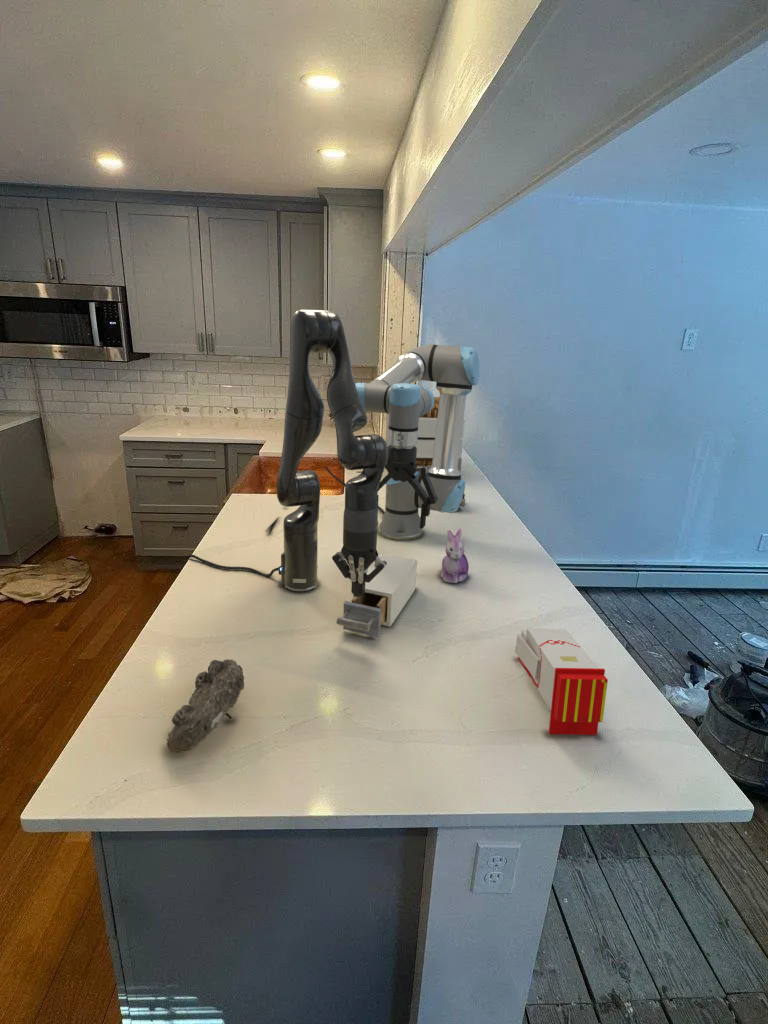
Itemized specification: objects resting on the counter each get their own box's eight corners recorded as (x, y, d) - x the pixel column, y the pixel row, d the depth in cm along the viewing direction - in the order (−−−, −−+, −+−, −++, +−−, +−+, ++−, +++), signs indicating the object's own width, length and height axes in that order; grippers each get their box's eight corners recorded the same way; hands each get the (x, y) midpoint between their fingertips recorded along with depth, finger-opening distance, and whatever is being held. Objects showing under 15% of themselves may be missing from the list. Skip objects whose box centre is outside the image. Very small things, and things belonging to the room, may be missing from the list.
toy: (561, 612, 132) (617, 675, 103) (556, 665, 135) (608, 741, 106) (510, 611, 132) (551, 674, 102) (505, 664, 134) (544, 741, 105)
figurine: (450, 587, 163) (454, 538, 158) (431, 572, 171) (435, 526, 166) (477, 581, 167) (482, 534, 162) (457, 567, 175) (461, 522, 170)
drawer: (369, 649, 130) (370, 622, 127) (333, 640, 133) (333, 614, 130) (404, 599, 153) (405, 575, 151) (372, 592, 156) (373, 569, 153)
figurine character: (465, 515, 224) (460, 499, 237) (467, 498, 221) (462, 483, 234) (448, 515, 224) (444, 499, 237) (450, 498, 220) (445, 482, 234)
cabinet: (390, 626, 141) (391, 594, 138) (352, 618, 145) (353, 586, 141) (415, 589, 161) (417, 559, 158) (381, 582, 164) (382, 553, 161)
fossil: (192, 660, 117) (244, 628, 112) (224, 691, 120) (276, 661, 115) (142, 746, 98) (202, 712, 93) (182, 779, 101) (242, 748, 96)
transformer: (382, 463, 289) (386, 382, 275) (445, 464, 293) (451, 384, 279) (390, 482, 257) (394, 392, 243) (460, 483, 261) (468, 394, 247)
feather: (286, 511, 220) (288, 507, 220) (268, 535, 193) (271, 531, 193) (282, 508, 220) (285, 504, 219) (263, 533, 193) (266, 528, 193)
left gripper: (325, 526, 123) (325, 597, 129) (382, 536, 119) (379, 608, 125) (339, 515, 130) (338, 583, 136) (394, 524, 126) (390, 594, 132)
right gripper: (351, 443, 146) (350, 520, 153) (446, 454, 138) (439, 535, 145) (362, 437, 152) (360, 511, 160) (453, 448, 145) (446, 525, 152)
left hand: (358, 595), depth 130 cm, fingers closed
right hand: (398, 523), depth 153 cm, fingers open, 13 cm apart
